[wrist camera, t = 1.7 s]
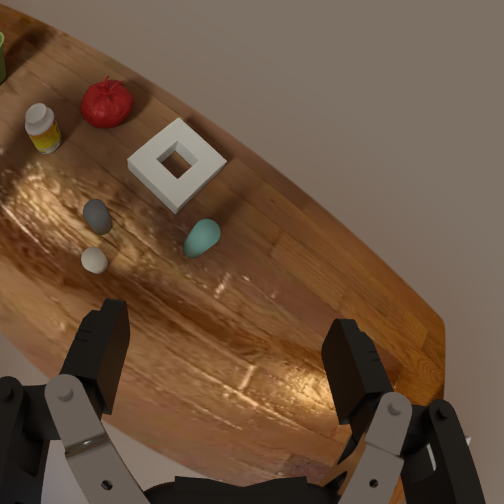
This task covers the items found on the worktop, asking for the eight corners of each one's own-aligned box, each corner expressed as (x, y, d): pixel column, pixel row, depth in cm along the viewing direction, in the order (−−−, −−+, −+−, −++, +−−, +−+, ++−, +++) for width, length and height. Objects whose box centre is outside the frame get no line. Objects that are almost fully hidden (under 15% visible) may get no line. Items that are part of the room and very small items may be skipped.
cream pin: (98, 278, 44) (92, 276, 40) (83, 263, 44) (76, 259, 39) (112, 262, 46) (108, 258, 41) (97, 247, 45) (92, 241, 40)
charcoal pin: (101, 239, 45) (93, 228, 38) (87, 224, 45) (78, 211, 37) (116, 223, 47) (111, 210, 39) (102, 209, 46) (95, 194, 39)
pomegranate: (120, 141, 49) (118, 113, 40) (75, 128, 46) (66, 100, 37) (141, 100, 51) (144, 70, 42) (98, 89, 48) (95, 59, 40)
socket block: (175, 214, 50) (177, 207, 47) (128, 168, 48) (127, 159, 45) (221, 170, 54) (226, 161, 51) (176, 128, 52) (178, 117, 49)
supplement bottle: (67, 143, 45) (55, 114, 35) (42, 160, 43) (26, 133, 34) (56, 124, 44) (44, 93, 35) (33, 140, 43) (17, 111, 33)
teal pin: (193, 262, 50) (208, 251, 39) (178, 247, 50) (187, 232, 39) (207, 246, 51) (225, 232, 40) (192, 232, 51) (206, 213, 40)
